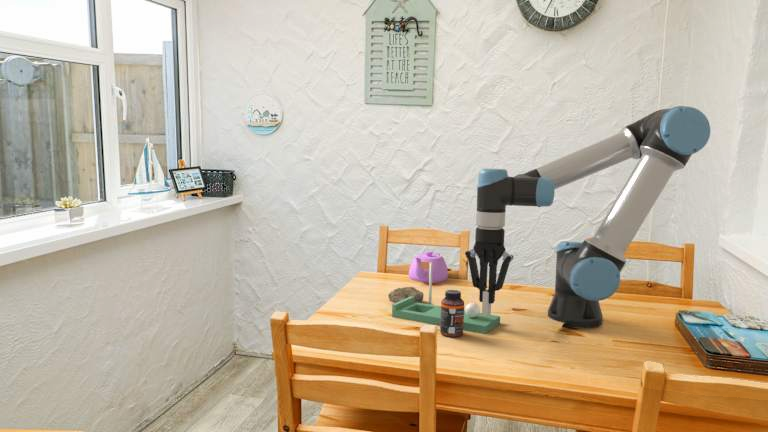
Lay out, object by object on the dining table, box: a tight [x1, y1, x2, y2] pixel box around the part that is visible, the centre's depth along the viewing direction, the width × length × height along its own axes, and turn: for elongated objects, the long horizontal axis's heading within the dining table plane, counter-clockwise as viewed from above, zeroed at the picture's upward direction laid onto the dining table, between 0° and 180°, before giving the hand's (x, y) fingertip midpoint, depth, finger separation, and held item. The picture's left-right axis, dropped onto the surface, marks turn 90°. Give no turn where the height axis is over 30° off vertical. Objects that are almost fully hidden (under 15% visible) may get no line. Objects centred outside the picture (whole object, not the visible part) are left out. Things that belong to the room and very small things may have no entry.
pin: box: [421, 261, 433, 305], centre depth 174 cm, size 5×3×14 cm, turn 59°
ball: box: [464, 302, 481, 318], centre depth 160 cm, size 4×4×4 cm
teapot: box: [408, 250, 449, 284], centre depth 210 cm, size 13×20×11 cm
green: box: [391, 296, 501, 335], centre depth 165 cm, size 28×11×4 cm, turn 59°
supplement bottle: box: [439, 289, 465, 338], centre depth 152 cm, size 6×6×11 cm
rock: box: [388, 286, 425, 304], centre depth 181 cm, size 8×11×4 cm
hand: (486, 314), depth 158 cm, fingers closed
